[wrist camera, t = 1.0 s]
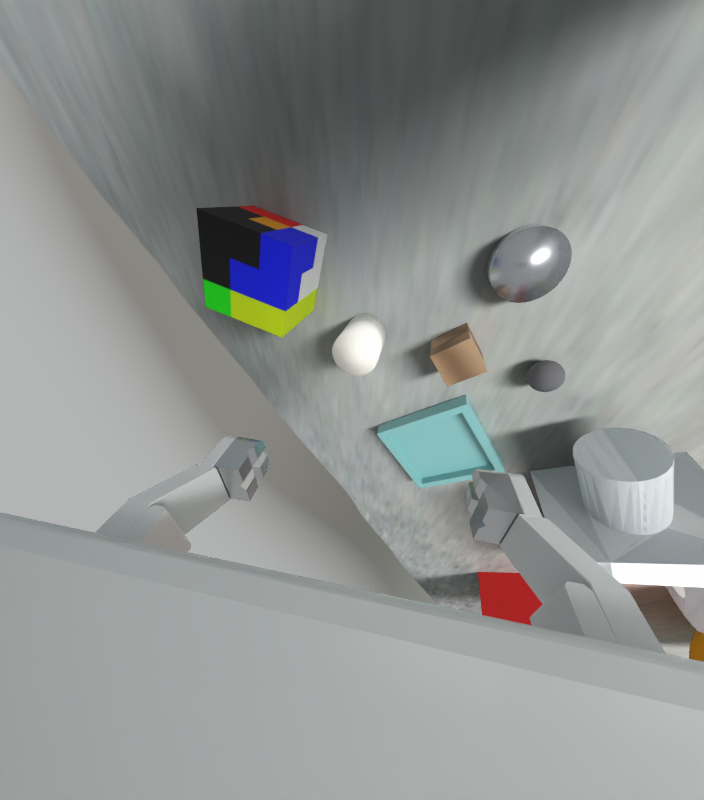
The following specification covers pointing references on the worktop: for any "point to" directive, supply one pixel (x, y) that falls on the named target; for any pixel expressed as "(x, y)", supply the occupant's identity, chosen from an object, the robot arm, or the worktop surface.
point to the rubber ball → (545, 376)
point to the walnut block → (457, 355)
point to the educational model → (697, 647)
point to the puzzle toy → (259, 266)
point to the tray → (441, 444)
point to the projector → (633, 511)
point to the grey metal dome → (528, 263)
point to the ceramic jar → (360, 344)
